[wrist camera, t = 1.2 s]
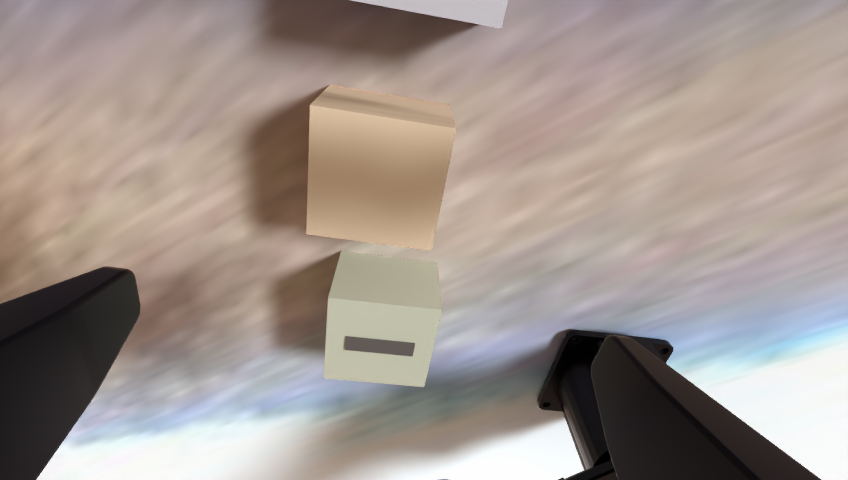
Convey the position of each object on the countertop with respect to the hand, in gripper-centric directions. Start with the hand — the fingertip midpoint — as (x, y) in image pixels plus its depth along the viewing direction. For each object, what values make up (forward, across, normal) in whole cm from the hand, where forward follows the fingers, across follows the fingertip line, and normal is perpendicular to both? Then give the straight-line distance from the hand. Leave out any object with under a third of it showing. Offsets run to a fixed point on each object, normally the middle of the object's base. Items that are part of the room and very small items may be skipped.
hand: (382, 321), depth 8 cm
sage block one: (+12, 0, +9) cm, 15 cm away
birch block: (+12, +1, +1) cm, 12 cm away
